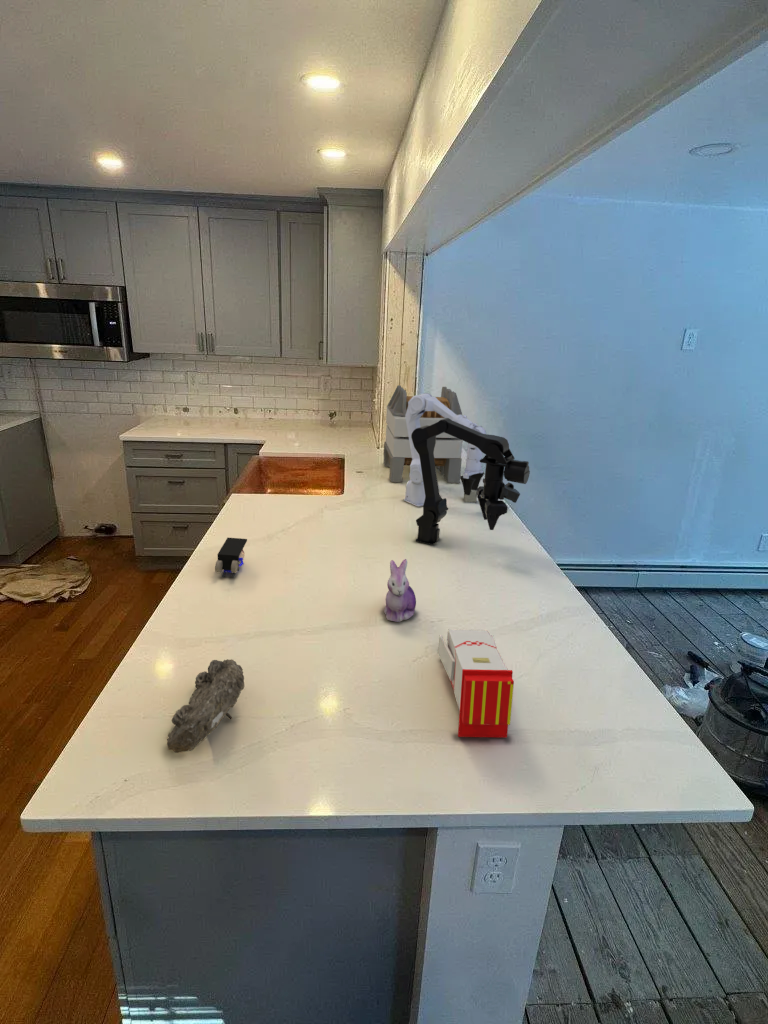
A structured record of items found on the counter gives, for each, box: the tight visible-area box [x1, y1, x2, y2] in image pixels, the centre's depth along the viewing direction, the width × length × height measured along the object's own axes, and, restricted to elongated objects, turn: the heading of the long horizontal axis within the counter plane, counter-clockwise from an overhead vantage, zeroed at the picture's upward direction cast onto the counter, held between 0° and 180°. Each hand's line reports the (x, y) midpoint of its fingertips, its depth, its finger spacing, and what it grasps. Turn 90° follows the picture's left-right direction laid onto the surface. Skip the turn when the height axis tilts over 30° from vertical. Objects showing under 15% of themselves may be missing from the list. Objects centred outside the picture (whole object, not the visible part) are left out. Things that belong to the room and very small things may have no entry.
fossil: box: [166, 658, 245, 754], centre depth 106 cm, size 22×10×15 cm
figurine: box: [384, 558, 417, 623], centre depth 145 cm, size 9×10×15 cm
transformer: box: [383, 384, 464, 484], centre depth 268 cm, size 34×33×41 cm
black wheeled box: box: [214, 537, 248, 578], centre depth 166 cm, size 7×8×15 cm
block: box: [463, 489, 478, 504], centre depth 238 cm, size 5×4×5 cm
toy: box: [437, 628, 515, 738], centre depth 117 cm, size 12×13×30 cm
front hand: (488, 524), depth 182 cm, fingers open, 9 cm apart
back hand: (470, 492), depth 221 cm, fingers open, 7 cm apart
